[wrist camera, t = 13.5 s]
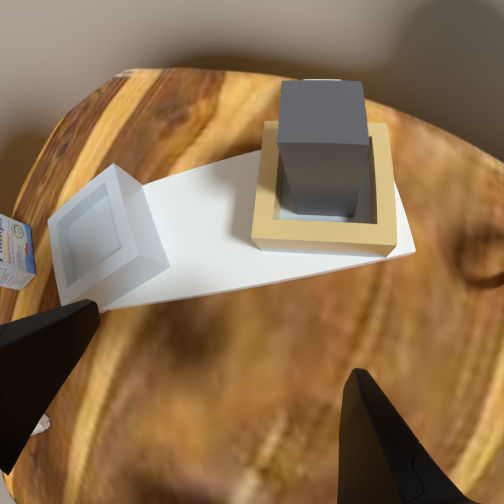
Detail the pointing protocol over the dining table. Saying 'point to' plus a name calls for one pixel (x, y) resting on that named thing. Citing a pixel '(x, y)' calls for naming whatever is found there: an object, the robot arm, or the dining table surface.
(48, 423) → the white creature statuette
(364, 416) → the robot arm
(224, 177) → the panel board
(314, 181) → the plug
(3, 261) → the medicine box
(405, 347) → the dining table surface
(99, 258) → the raised dock
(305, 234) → the low dock
